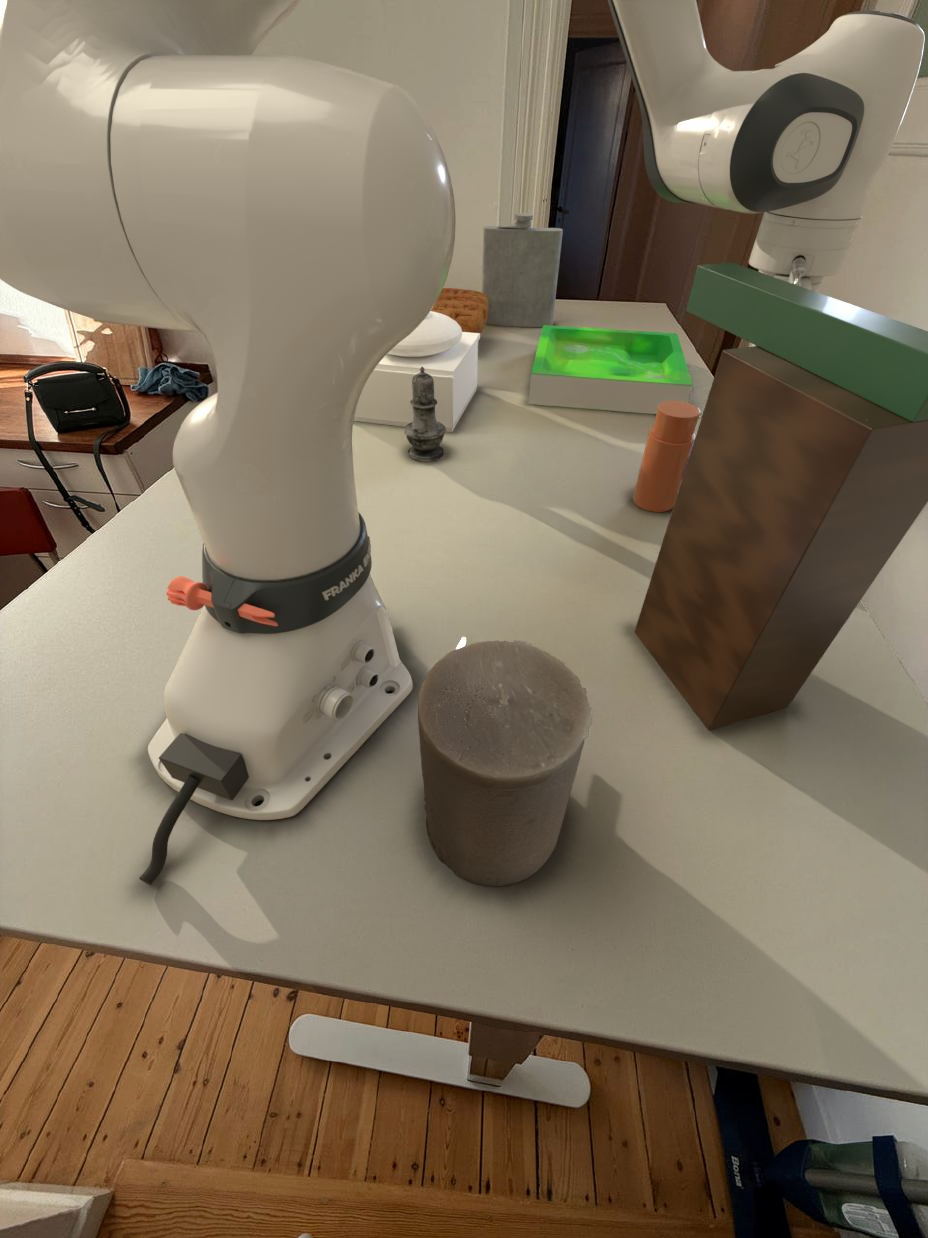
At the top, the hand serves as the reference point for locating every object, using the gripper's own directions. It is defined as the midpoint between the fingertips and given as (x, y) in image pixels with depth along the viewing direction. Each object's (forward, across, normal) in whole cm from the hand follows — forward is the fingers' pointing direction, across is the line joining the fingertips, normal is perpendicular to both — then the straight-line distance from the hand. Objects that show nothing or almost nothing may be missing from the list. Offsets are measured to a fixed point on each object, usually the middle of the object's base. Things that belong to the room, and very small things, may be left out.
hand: (750, 385), depth 66 cm
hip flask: (+12, +53, +47) cm, 72 cm away
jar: (+13, -9, +7) cm, 17 cm away
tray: (+12, +28, +22) cm, 38 cm away
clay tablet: (+12, +36, +56) cm, 68 cm away
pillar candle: (+13, -57, +11) cm, 59 cm away
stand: (+13, -36, -2) cm, 38 cm away
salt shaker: (+13, -9, +39) cm, 42 cm away
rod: (-13, -33, 0) cm, 35 cm away
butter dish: (+13, +6, +48) cm, 50 cm away
